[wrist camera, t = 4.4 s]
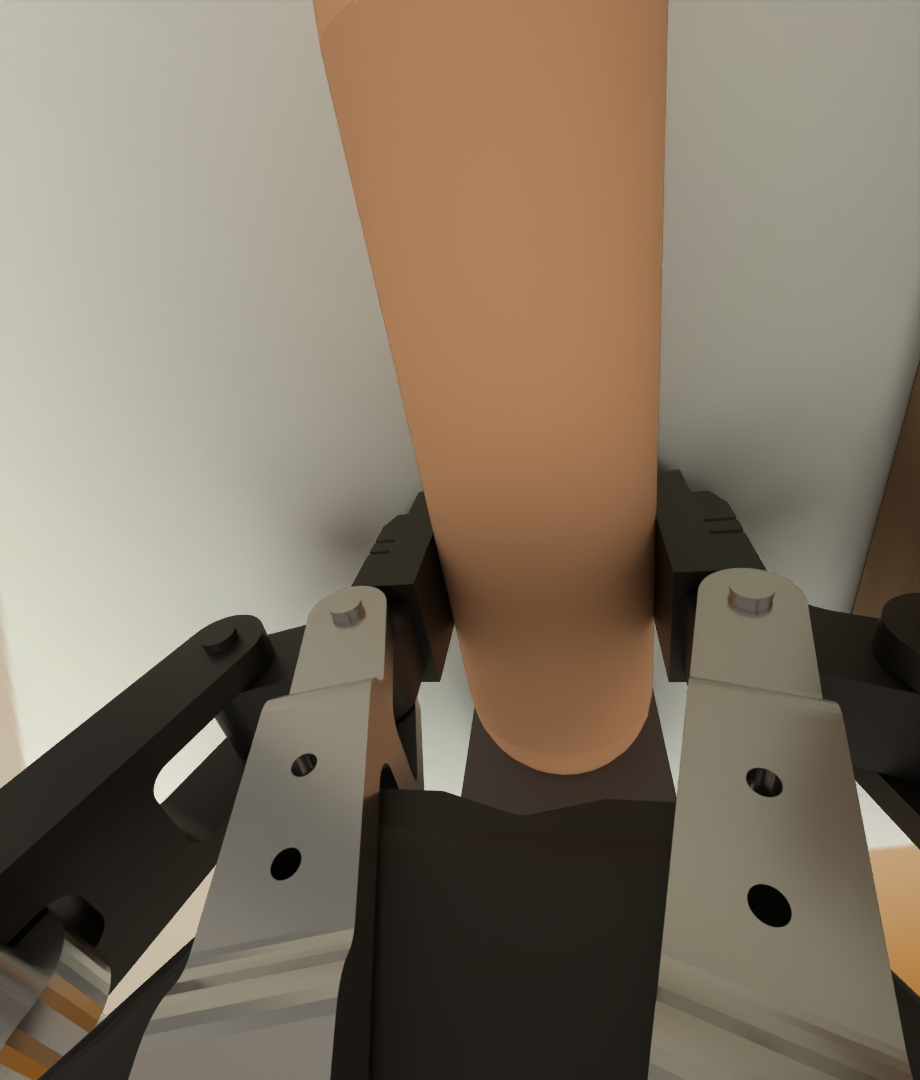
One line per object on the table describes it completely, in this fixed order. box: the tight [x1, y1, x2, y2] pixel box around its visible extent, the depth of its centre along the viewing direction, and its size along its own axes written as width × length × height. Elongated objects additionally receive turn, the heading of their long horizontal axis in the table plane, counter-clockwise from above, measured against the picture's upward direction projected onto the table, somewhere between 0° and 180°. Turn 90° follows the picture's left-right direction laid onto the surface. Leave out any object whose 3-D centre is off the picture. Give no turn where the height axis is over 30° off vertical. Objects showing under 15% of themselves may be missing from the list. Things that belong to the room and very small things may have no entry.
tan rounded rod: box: [313, 0, 677, 815], centre depth 9 cm, size 18×4×4 cm, turn 10°
